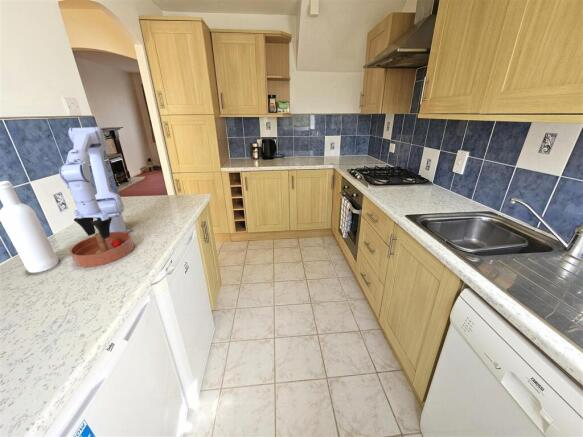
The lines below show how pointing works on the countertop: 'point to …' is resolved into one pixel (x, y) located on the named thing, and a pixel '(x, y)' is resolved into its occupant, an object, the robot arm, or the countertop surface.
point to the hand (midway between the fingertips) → (99, 235)
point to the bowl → (87, 249)
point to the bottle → (25, 231)
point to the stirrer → (102, 244)
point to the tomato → (116, 243)
